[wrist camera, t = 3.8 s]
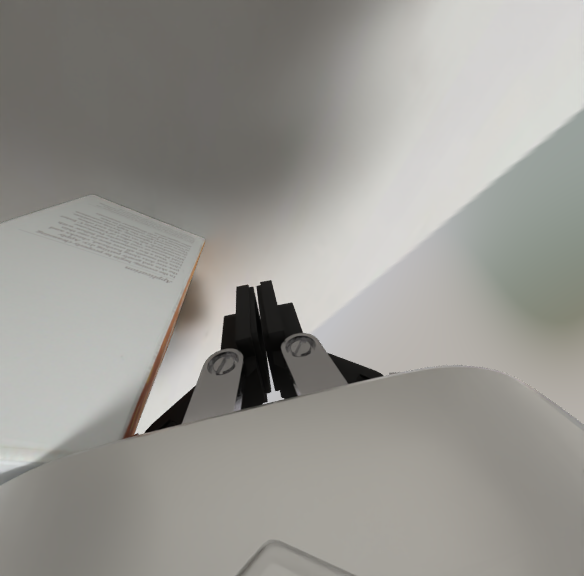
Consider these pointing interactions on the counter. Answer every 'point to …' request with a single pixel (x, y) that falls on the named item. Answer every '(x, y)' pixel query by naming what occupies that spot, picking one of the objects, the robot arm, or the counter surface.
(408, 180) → the counter surface
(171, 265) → the small box
